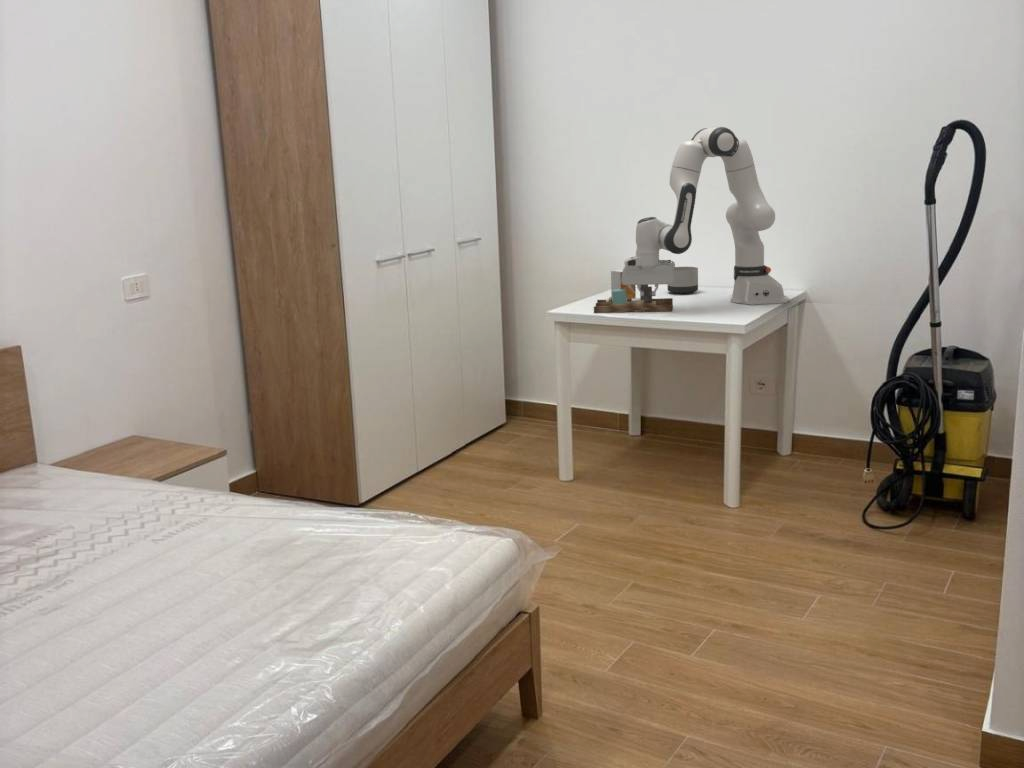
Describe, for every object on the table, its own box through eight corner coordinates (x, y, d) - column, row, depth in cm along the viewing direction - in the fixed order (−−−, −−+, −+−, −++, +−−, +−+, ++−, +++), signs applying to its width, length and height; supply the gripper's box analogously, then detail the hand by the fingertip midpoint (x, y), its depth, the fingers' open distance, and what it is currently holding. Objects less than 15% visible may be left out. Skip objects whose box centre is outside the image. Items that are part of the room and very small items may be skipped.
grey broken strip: (652, 302, 391) (652, 282, 389) (651, 305, 385) (651, 285, 383) (607, 303, 394) (606, 283, 392) (606, 306, 388) (605, 286, 386)
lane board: (672, 304, 391) (672, 298, 391) (672, 311, 375) (672, 305, 374) (597, 305, 396) (597, 299, 396) (593, 313, 380) (593, 306, 379)
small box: (621, 303, 399) (620, 271, 396) (611, 302, 404) (610, 270, 401) (636, 301, 403) (635, 269, 400) (626, 299, 408) (625, 268, 405)
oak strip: (656, 306, 383) (655, 285, 381) (655, 308, 377) (655, 288, 375) (609, 307, 386) (609, 286, 384) (608, 309, 380) (608, 289, 378)
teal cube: (626, 301, 384) (626, 289, 383) (625, 303, 379) (625, 291, 378) (613, 302, 385) (613, 289, 384) (612, 304, 380) (612, 291, 379)
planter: (664, 291, 424) (664, 267, 422) (693, 290, 425) (693, 265, 423) (671, 296, 412) (671, 271, 409) (701, 294, 413) (701, 269, 411)
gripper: (675, 258, 377) (675, 294, 381) (621, 259, 381) (622, 295, 384) (674, 260, 371) (675, 296, 375) (620, 261, 375) (621, 297, 378)
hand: (647, 296), depth 380 cm, fingers closed on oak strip, 3 cm apart
